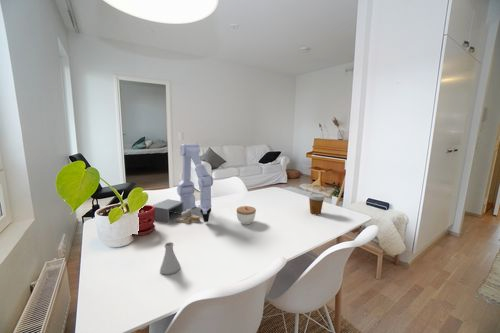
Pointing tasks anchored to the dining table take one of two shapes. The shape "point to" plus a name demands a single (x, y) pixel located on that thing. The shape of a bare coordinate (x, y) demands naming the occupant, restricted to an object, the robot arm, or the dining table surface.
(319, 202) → the disposable coffee cup
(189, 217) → the tan t-shaped block
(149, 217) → the plant pot
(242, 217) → the lidded jar
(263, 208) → the dining table surface
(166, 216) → the grey slotted box
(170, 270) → the flask
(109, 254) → the dining table surface
